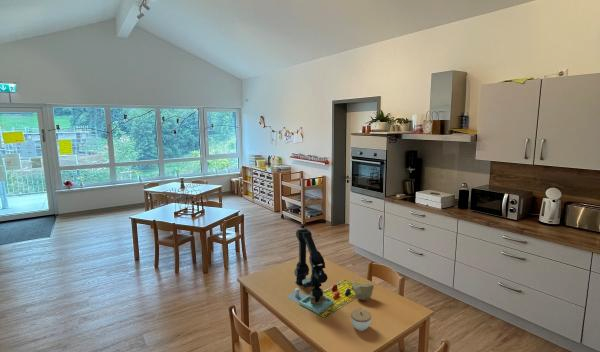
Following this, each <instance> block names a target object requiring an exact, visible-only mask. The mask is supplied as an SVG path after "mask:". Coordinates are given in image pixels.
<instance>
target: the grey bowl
mask: <svg viewBox="0 0 600 352" xmlns="http://www.w3.org/2000/svg"><path fill="white" fill-rule="evenodd" d="M350 290H351V291H353V292H354V295H355V297H356V299H357V300H360V301H367V300H369V299H371V297H372V295H373V290H374V284H371V283H360V282H357V281H356V282H353V283H352V285H351V288H350Z"/></svg>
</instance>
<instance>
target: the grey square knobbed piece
mask: <svg viewBox="0 0 600 352" xmlns="http://www.w3.org/2000/svg"><path fill="white" fill-rule="evenodd" d="M307 296H308V295H307V294H304V293H303V292H301V291H300V288H298V287H296V288H295V289H294V292H292V293H290V294H288V295H287V296H286V298H287V299H289V300H291V301H293V302H294V303H297V304H299V301H300V300H302V299H303V298H305V297H307Z"/></svg>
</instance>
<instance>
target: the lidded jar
mask: <svg viewBox="0 0 600 352" xmlns="http://www.w3.org/2000/svg"><path fill="white" fill-rule="evenodd" d="M371 320H372V314H371V312H370V311H368V310H366V309H363V308H355V309H353V310H352V311H351V312H350V321H351V324H352V326H353V327H354V328H355V330H357V331H358V332H359V331H360V332H365V331H366V330H367V329H368V328H369V327H370V325H371Z"/></svg>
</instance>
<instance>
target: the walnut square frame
mask: <svg viewBox="0 0 600 352" xmlns="http://www.w3.org/2000/svg"><path fill="white" fill-rule="evenodd" d="M309 295H310V301H311V304H323V302H325V295H323V296H321V297H320V299H319V301H318V302H316V300H315V296H312V291H310V292H309Z"/></svg>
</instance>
